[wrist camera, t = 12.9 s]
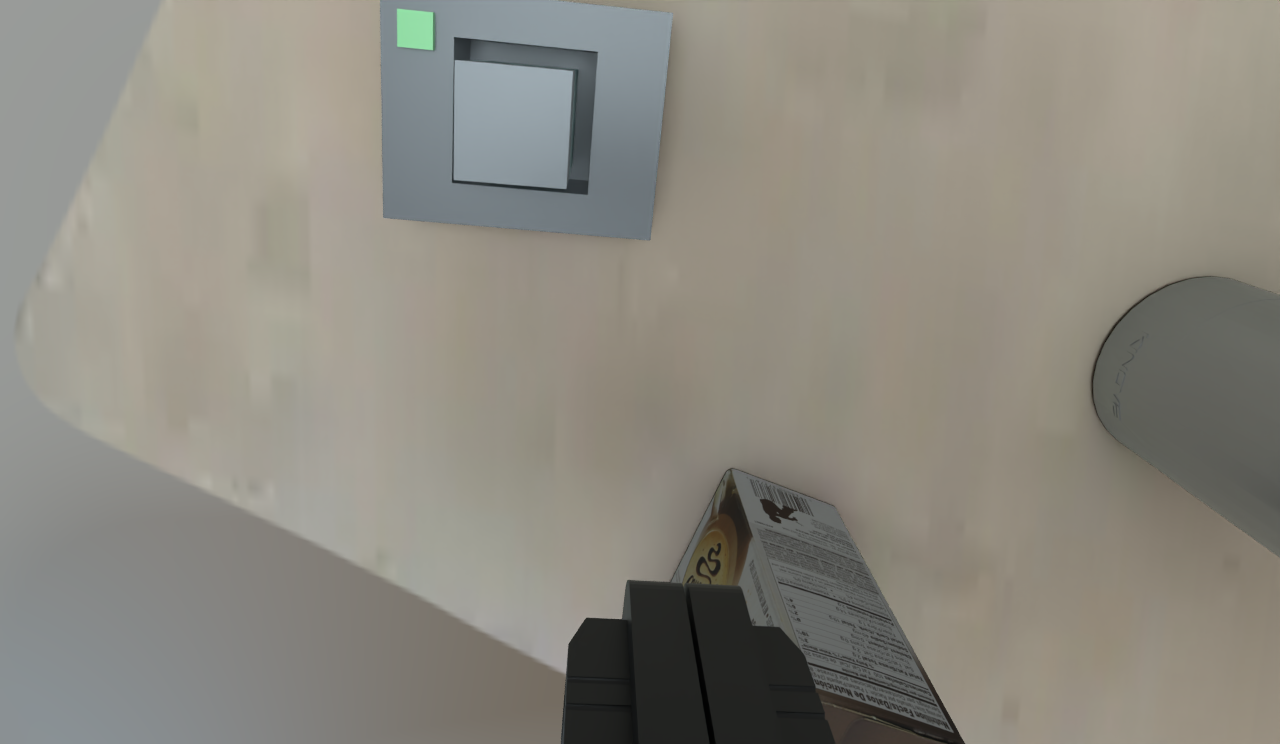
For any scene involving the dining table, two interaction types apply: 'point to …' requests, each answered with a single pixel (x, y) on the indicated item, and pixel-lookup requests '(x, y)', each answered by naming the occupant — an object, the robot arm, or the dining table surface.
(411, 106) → the port
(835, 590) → the coffee box
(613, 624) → the robot arm
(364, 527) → the dining table surface
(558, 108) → the plug
